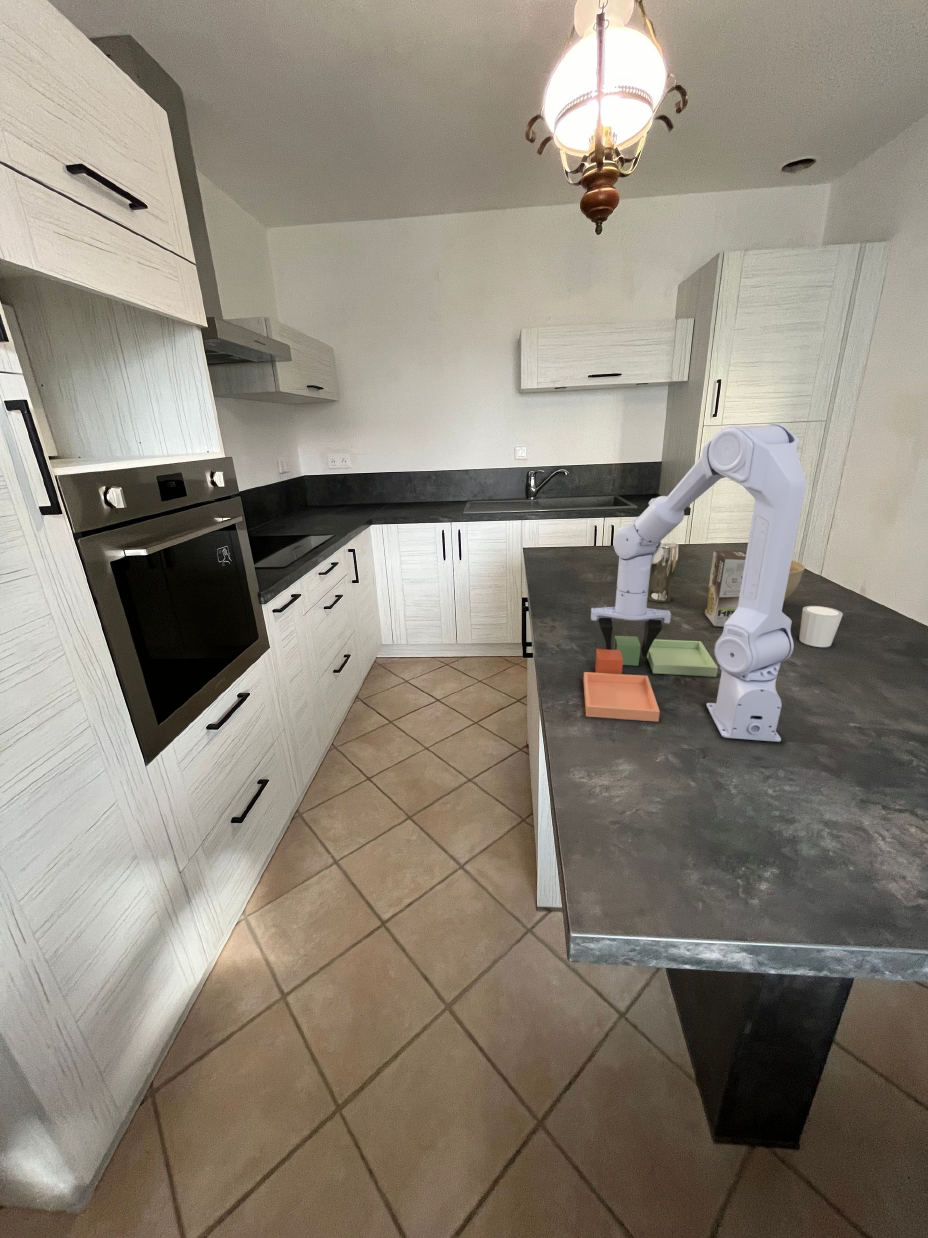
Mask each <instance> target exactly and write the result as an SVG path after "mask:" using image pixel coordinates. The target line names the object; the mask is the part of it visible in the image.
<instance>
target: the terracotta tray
mask: <svg viewBox="0 0 928 1238" xmlns="http://www.w3.org/2000/svg"><path fill="white" fill-rule="evenodd" d="M583 694H584V706H585V707H584V709H585V717H589V718H600V719H601V718H602V719H616V720H629V721H630V720H631V721H642V722H643V721H644V722H654V723H655V722H659V721H660V708H659V705H658V702H657V700H656V696H655V693H654V690H653V687H652V684H651V680H650V679H649V675H644V674H643V675H642V674H627V673H625V674H623V673H622V674H609V673H596V672H592V671H591V672H590V671H589V672H588V671H584V672H583Z"/></svg>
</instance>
